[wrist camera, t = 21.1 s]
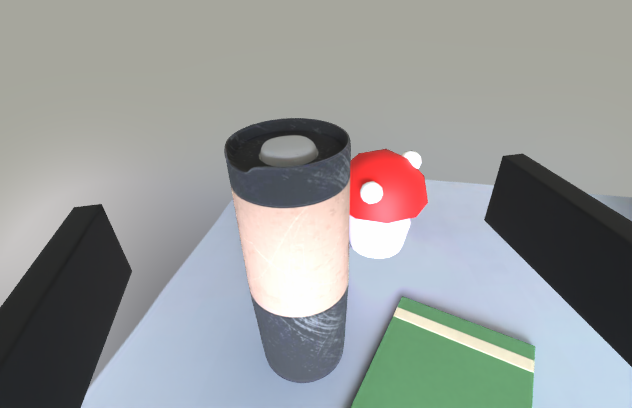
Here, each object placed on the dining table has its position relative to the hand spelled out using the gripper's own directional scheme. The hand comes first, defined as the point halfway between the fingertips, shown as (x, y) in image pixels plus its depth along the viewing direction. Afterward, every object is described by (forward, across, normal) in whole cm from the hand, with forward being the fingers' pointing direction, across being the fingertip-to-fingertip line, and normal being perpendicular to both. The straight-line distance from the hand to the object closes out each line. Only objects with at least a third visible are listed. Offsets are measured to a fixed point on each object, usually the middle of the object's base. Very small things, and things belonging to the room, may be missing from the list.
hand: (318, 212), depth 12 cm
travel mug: (+10, 0, -22) cm, 24 cm away
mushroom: (+23, +11, -22) cm, 33 cm away
